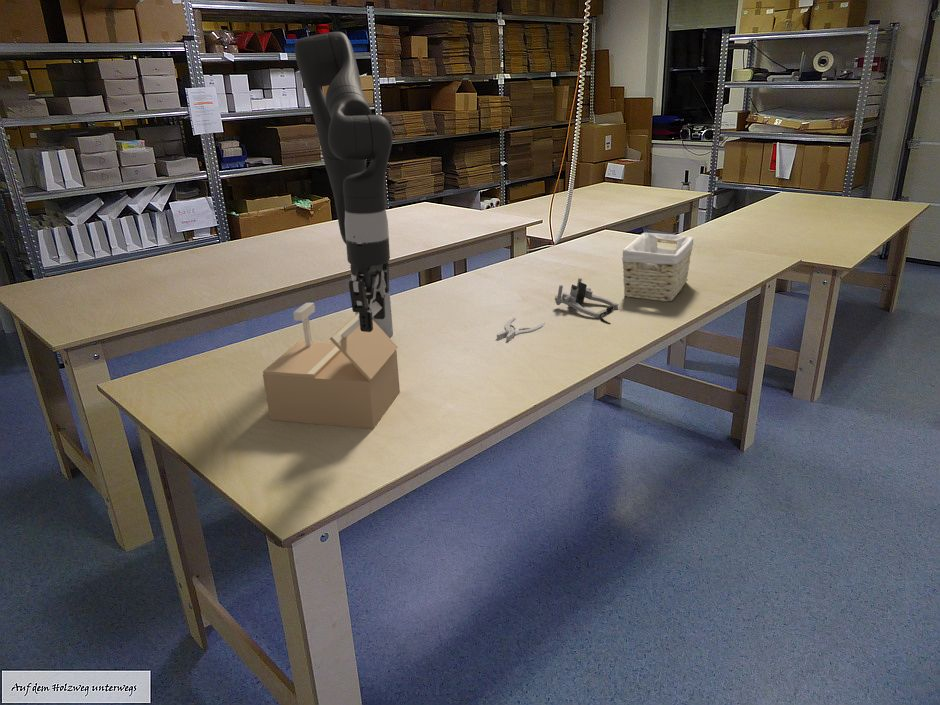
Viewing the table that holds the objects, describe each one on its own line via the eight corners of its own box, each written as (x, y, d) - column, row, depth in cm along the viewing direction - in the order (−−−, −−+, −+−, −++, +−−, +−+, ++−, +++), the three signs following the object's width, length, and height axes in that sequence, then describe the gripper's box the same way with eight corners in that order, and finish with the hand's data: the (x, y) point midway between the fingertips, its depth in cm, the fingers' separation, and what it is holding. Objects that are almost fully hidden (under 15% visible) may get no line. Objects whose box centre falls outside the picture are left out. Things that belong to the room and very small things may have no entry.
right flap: (360, 310, 137) (390, 283, 133) (396, 348, 138) (426, 323, 134) (329, 338, 122) (361, 310, 119) (369, 381, 124) (402, 353, 120)
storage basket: (673, 305, 188) (677, 254, 183) (617, 297, 196) (620, 249, 190) (690, 282, 208) (695, 235, 202) (639, 276, 215) (642, 231, 209)
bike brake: (548, 306, 188) (608, 332, 177) (552, 284, 185) (613, 309, 174) (576, 295, 197) (634, 319, 186) (580, 274, 194) (639, 297, 183)
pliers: (545, 320, 177) (519, 338, 165) (545, 325, 177) (519, 344, 166) (512, 314, 182) (485, 332, 170) (512, 320, 182) (485, 338, 170)
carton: (306, 384, 148) (294, 302, 140) (400, 391, 143) (393, 306, 135) (270, 419, 133) (255, 330, 125) (373, 428, 128) (364, 336, 120)
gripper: (362, 225, 124) (368, 310, 130) (330, 244, 111) (338, 337, 117) (400, 227, 122) (404, 313, 129) (372, 246, 109) (378, 340, 116)
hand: (373, 324), depth 123 cm, fingers closed on right flap, 6 cm apart
